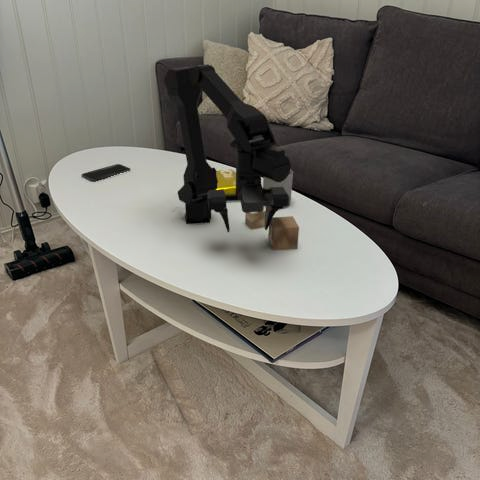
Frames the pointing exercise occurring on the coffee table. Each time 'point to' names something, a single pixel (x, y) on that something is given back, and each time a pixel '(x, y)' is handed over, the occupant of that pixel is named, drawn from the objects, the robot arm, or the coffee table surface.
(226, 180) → the element tile
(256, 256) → the coffee table surface
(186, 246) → the coffee table surface
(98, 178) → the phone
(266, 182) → the cup
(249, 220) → the oak block
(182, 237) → the coffee table surface
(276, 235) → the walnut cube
